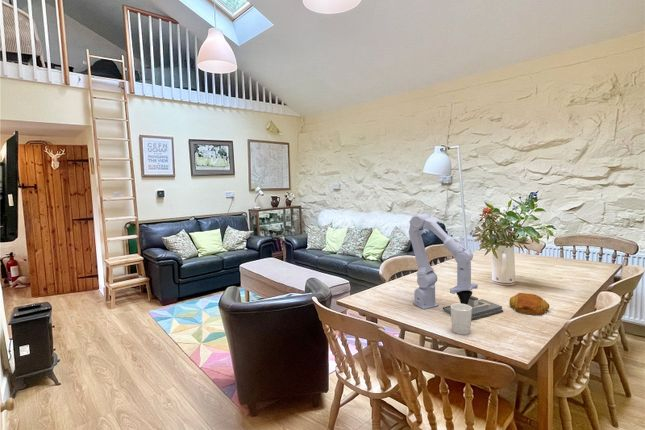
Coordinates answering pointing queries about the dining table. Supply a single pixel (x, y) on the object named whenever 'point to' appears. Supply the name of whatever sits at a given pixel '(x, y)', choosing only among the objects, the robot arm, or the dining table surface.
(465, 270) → the robot arm
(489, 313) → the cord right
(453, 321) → the white cup
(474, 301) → the grey and beige block
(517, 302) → the croissant
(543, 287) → the dining table surface
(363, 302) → the dining table surface
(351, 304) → the dining table surface
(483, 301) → the breaker panel
